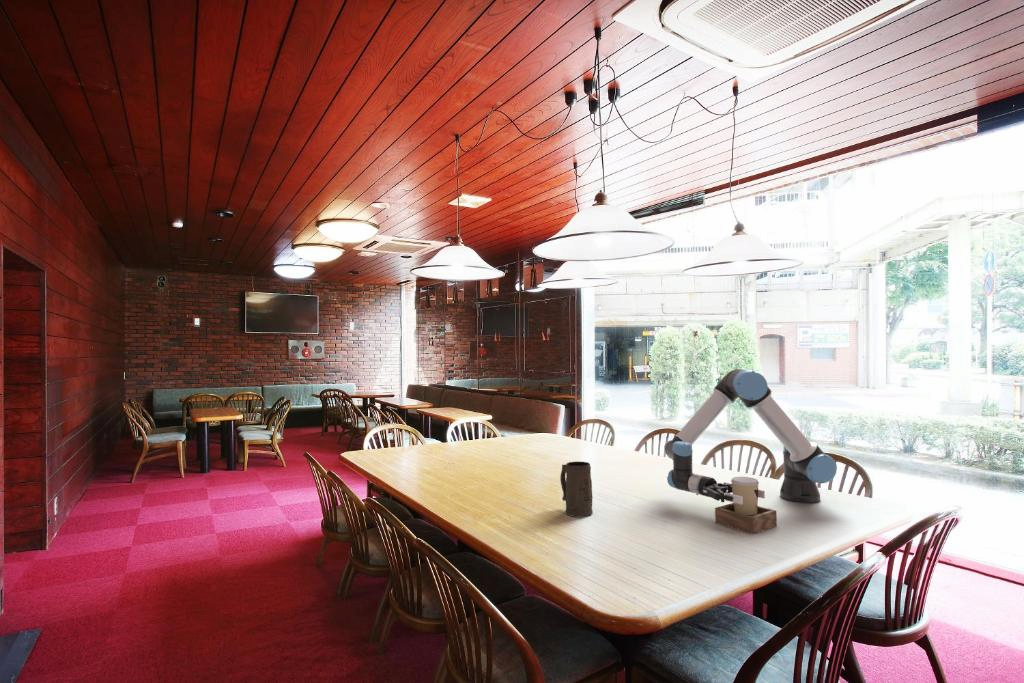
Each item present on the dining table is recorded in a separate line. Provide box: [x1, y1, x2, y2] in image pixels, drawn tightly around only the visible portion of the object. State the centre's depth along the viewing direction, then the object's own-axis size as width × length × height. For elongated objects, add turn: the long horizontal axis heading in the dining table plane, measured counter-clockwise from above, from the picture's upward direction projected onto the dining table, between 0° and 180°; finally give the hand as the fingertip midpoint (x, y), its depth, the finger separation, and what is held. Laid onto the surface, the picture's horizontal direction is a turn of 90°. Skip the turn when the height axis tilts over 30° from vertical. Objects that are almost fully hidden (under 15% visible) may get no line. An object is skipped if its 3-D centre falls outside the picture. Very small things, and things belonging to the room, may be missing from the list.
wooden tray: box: [714, 502, 778, 535], centre depth 192 cm, size 15×15×6 cm
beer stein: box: [559, 461, 594, 517], centre depth 210 cm, size 15×11×20 cm
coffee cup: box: [730, 476, 760, 515], centre depth 194 cm, size 9×9×12 cm
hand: (753, 497), depth 189 cm, fingers open, 13 cm apart
